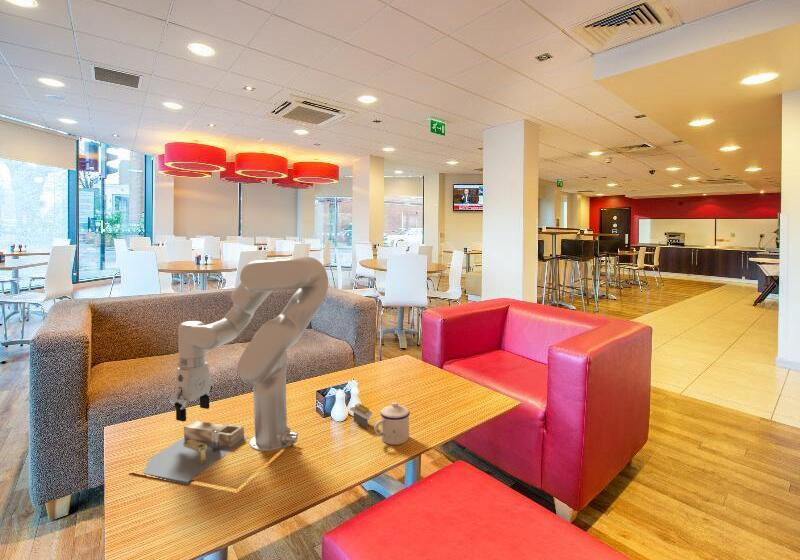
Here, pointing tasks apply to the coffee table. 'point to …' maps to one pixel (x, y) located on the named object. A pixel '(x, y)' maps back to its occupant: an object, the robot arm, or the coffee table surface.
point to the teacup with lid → (394, 424)
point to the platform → (361, 415)
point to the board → (183, 461)
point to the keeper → (197, 449)
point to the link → (203, 430)
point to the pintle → (215, 440)
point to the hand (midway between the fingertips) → (193, 414)
